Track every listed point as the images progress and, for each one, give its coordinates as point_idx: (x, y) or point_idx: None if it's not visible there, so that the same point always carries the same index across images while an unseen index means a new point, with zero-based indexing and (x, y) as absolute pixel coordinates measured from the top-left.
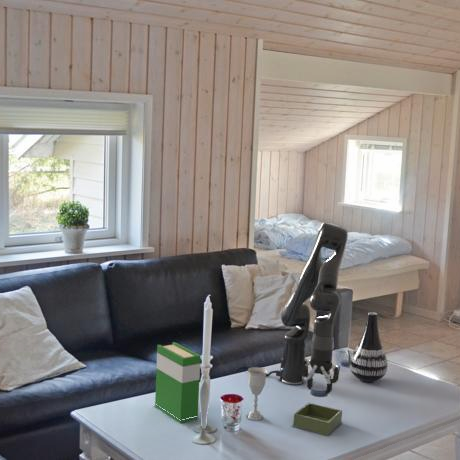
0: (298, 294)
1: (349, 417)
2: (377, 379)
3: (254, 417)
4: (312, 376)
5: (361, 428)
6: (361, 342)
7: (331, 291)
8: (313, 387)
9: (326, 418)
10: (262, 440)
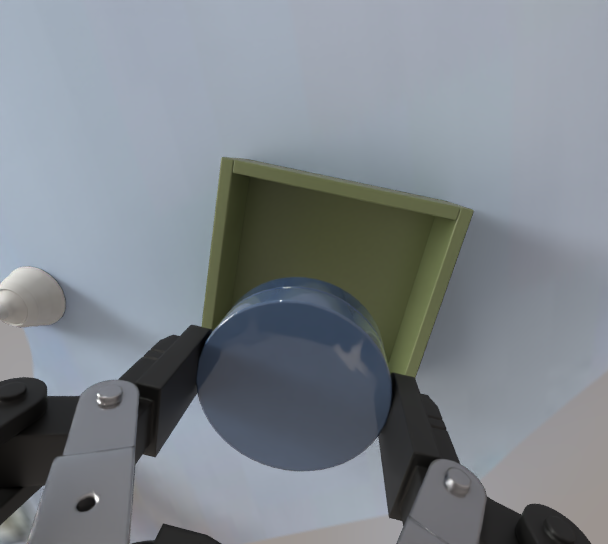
0: None
1: (496, 91)
2: None
3: (37, 324)
4: (136, 422)
5: (567, 234)
6: None
7: None
8: (230, 406)
9: (360, 203)
10: (156, 482)
